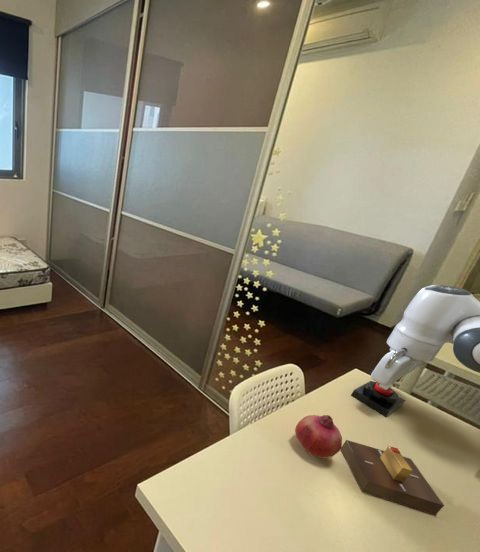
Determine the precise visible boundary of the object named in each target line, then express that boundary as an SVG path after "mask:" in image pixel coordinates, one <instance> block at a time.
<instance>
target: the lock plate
mask: <svg viewBox="0 0 480 552" xmlns="http://www.w3.org/2000/svg"><path fill="white" fill-rule="evenodd" d="M340 451H341V453H342V455H343V457H344V459H345V461H346V463H347V465H348V467H349V469H350V471H351V473H352V475H353V477H354V479H355V481H356V483H357V485H358V488H359V489H360V490H361V492H362V493H365V494H368V495H371V496H374V497H377V498H380V499H384V500H386V501H388V502H389V501H390V502H393V503H396V504H399V505H401V506H405V507H408V508H411V509H414V510H418V511H421V512H424V513H427V514H430V515H433V516H436V515H437V514H438V513H440V511H441V510H442V509H443V508H444V507H445V504H444V503H443V501H441V499H440V498H439V496H438V495H437V494H436V492H435V490H434V489H433V488H432V486H431V485H430V484H429V482H428V481H427V479H426V478H425V477H424V475H423V474H422V473H421V470H420V469H419V468H418V467H417V466H416V464H415V463H414V461H413V460H412V458H409V457H406V456H403V458H404V459H405V461H406V462H407V463H408V465H409V466H410V468H411V469H412V472H411V473H410V474H409V476H408V477H407V478H406V479H405V481H404V482H400V481H397V480H394V479H393V478H392V476H391V474H390V473H389V471H388V470H387V468H386V466H385V465H384V463H383V462H382V460H381V458H380V457H381V455H382V454H383V453H384V451H385V450H383V449H380V448H376V447H373V446H369V445H366V444H362V443H358V442H355V441H352V440H348V439H346V440H345V441H344V442H343V443H342V447H341V449H340Z"/></svg>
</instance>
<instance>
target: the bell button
mask: <svg viewBox="0 0 480 552" xmlns="http://www.w3.org/2000/svg"><path fill="white" fill-rule="evenodd" d="M379 385H380V384H379V383H376V384H375V386H374V388H375V389H376V390H377V391H378V392H380V393H382V394H384V395H387V396H391V394H392V393H393V390H394V389H393V388H392V387H391V388H389V389H387V390H385V389H383V388H381V387H380V386H379Z"/></svg>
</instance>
